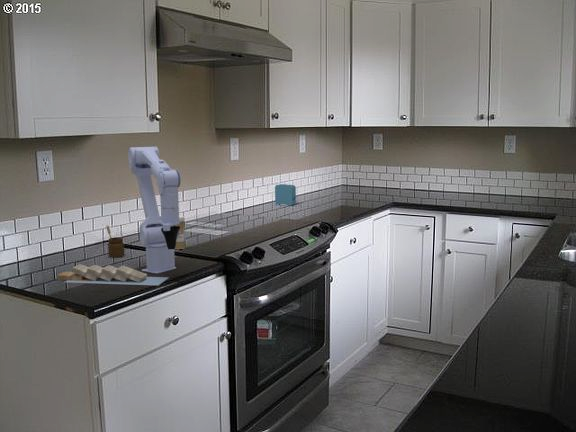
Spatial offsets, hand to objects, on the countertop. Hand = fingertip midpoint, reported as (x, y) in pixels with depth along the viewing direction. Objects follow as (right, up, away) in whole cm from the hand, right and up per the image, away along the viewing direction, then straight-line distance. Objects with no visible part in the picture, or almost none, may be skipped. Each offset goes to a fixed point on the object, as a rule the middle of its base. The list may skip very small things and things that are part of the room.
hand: (171, 249), depth 207 cm
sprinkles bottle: (-6, -3, +50) cm, 51 cm away
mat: (-18, -11, +1) cm, 21 cm away
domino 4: (-14, -9, +1) cm, 17 cm away
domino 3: (-19, -9, +1) cm, 21 cm away
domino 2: (-24, -9, +2) cm, 26 cm away
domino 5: (-9, -10, 0) cm, 13 cm away
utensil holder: (-28, -5, +39) cm, 48 cm away
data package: (+36, +17, +173) cm, 178 cm away
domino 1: (-29, -9, +3) cm, 31 cm away
